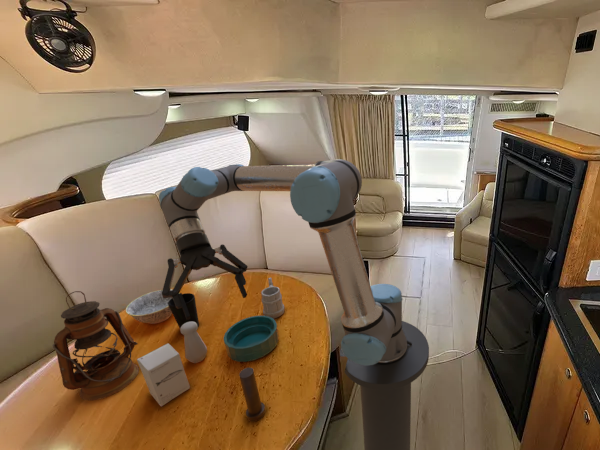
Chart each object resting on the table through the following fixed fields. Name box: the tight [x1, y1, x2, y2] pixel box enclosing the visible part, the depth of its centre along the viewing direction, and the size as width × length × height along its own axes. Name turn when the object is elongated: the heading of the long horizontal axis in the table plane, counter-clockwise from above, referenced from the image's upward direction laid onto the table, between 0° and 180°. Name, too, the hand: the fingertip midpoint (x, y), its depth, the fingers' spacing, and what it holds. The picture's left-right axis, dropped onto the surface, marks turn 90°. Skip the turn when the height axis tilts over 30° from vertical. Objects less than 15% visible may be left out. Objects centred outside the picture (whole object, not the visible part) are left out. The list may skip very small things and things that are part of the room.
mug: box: [260, 277, 285, 319], centre depth 118 cm, size 8×12×12 cm, turn 21°
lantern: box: [52, 290, 140, 401], centre depth 84 cm, size 17×13×30 cm
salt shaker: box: [179, 321, 208, 364], centre depth 95 cm, size 6×6×13 cm
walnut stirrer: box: [238, 366, 266, 423], centre depth 78 cm, size 4×4×14 cm
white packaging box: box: [136, 343, 191, 408], centre depth 84 cm, size 7×7×13 cm
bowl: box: [125, 288, 181, 325], centre depth 115 cm, size 16×16×8 cm
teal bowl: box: [223, 315, 280, 363], centre depth 102 cm, size 16×16×6 cm
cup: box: [168, 292, 200, 329], centre depth 109 cm, size 8×8×12 cm
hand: (218, 306), depth 82 cm, fingers open, 13 cm apart
